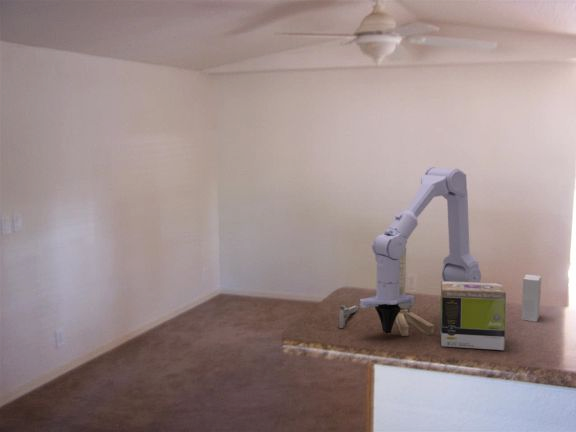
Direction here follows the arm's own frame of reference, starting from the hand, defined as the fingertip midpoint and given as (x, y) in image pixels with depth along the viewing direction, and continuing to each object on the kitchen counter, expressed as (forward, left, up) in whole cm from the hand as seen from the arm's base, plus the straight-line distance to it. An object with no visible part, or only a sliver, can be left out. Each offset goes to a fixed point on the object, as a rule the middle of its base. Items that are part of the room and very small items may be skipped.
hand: (386, 332), depth 156 cm
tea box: (-18, +11, -1) cm, 21 cm away
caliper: (+3, -17, -2) cm, 17 cm away
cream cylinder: (-19, -33, -1) cm, 38 cm away
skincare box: (-46, -2, -1) cm, 46 cm away
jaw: (-7, -5, -1) cm, 8 cm away
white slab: (-10, -14, -1) cm, 17 cm away
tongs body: (-10, -7, -1) cm, 12 cm away
